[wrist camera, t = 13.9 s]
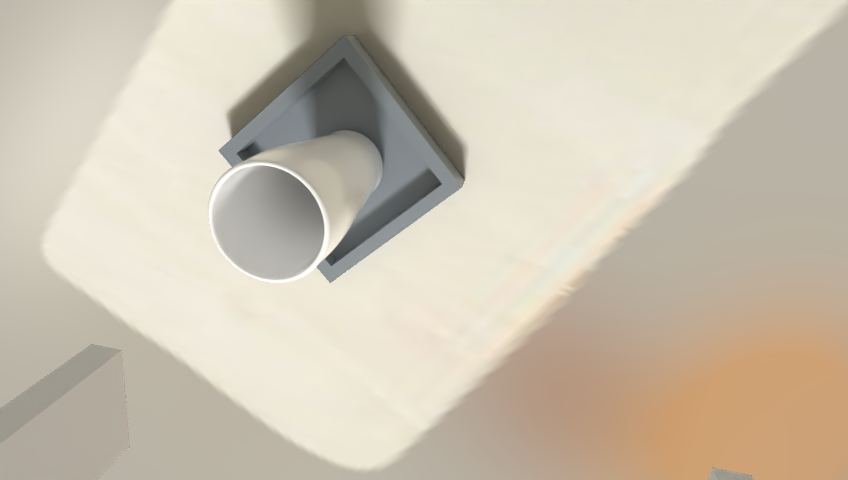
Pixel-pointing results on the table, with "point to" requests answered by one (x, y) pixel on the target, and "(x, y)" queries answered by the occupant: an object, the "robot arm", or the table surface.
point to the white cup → (292, 203)
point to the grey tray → (374, 118)
